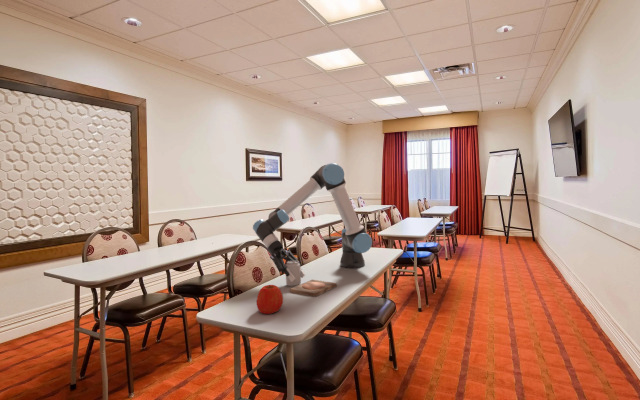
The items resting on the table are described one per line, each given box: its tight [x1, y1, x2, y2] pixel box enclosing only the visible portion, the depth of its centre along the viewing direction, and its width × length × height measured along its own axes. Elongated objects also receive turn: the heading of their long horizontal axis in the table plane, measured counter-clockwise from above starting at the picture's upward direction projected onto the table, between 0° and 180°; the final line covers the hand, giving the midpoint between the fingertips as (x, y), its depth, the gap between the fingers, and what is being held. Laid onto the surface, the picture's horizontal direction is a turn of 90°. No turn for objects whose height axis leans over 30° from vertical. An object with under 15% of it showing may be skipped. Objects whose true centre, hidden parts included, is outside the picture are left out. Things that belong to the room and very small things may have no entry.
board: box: [289, 279, 338, 297], centre depth 166 cm, size 18×15×2 cm
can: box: [285, 260, 302, 288], centre depth 174 cm, size 8×8×12 cm
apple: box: [256, 284, 284, 315], centre depth 138 cm, size 11×11×11 cm
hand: (298, 278), depth 172 cm, fingers closed on can, 7 cm apart
